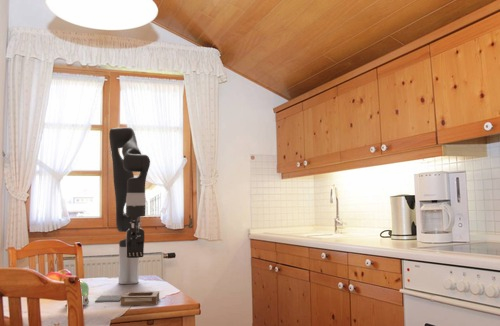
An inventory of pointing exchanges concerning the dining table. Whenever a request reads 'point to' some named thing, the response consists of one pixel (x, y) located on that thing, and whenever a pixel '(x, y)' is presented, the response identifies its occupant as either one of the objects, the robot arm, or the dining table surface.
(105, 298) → the mat
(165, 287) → the dining table surface
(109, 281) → the dining table surface
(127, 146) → the robot arm
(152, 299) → the frame
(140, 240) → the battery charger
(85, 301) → the frog
